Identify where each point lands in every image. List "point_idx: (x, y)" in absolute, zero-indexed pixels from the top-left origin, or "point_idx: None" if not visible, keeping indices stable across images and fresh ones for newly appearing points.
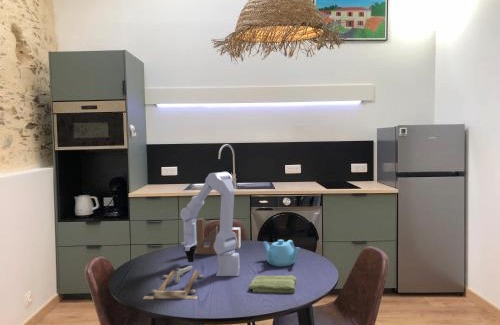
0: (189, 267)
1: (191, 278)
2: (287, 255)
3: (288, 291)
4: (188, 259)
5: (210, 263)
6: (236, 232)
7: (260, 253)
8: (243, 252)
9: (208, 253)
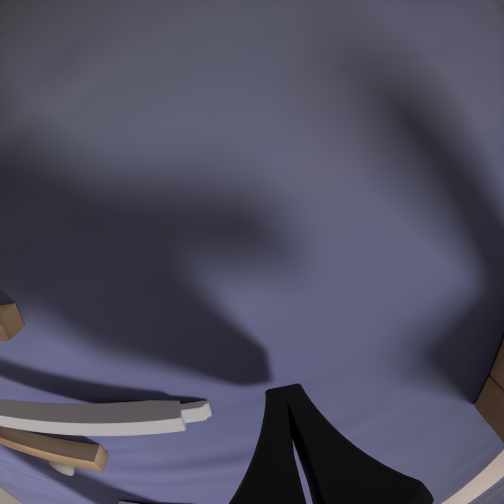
0: (115, 431)
1: (2, 439)
2: None
3: None
4: (265, 417)
5: None
6: None
7: None
8: (456, 461)
9: (495, 370)
